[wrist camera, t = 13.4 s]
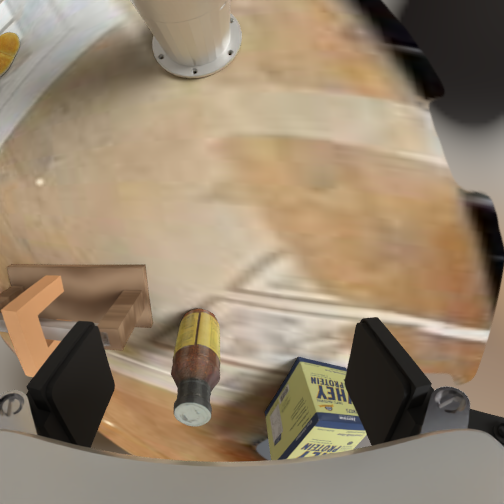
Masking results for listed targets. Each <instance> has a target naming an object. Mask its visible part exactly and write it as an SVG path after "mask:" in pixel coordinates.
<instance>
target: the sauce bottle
mask: <svg viewBox="0 0 504 504" xmlns="http://www.w3.org/2000/svg"><path fill="white" fill-rule="evenodd" d="M219 368H220V328H219V324H218V322H217V319H216V317H215V316H214V314H213V313H211V312H209V311H206V310H203V309H194V310H191V311H189V312H187V313H186V314H185V315H184V317H183V319H182V321H181V323H180V327H179V331H178V336H177V340H176V345H175V350H174V356H173V366H172V371H171V375H172V377H173V379H174V381H175V383H176V385H177V388H178V395H177V400H176V401H175V403H174V415H175V417H176V419H177V420H178V421H180V422H181V423H184V424H186V425H189V426H200V425H203V424H205V423H207V422H208V421H209V420H210V418H211V411H212V408H211V405H210V395H211V391H212V390H213V388H214V387H215V385H216V384H217V383H218V382H219V380H220V369H219Z"/></svg>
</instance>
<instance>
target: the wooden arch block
mask: <svg viewBox="0 0 504 504" xmlns="http://www.w3.org/2000/svg"><path fill="white" fill-rule="evenodd" d="M63 292H64V289H63V284H62V279H61V276H57V275H46V276H44V277H43V278H42V279H40V280H39V281H38V282H36V283H35V284H33V285H32V286H31V287H29V288H28V289H27V290H26V291H24V292H23V293H22V294H20V295H19V296H18V297H16V298H15V299H14V300H13V301H11V302H10V303H9V304H8V305H6V306H5V307H4V308H3V309H1V312H2V315H3V318H4V321H5V324H6V327H7V330H8V333H9V335H10V338H11V341H12V343H13V346H14V349H15V351H16V354H17V356H18V358H19V361H20V363H21V365H22V368H23V370H24V372H25V374H26V376H30V377H34V376H35V374H36V373H37V372H38V370H39V369H40V368H41V366H42V365H43V364H44V362H45V361H46V360H47V359H48V357H49V356H50V355H51V353H52V352H53V351H54V350H55V348H56V347H57V346H58V345H59V343H60V342H61V341H57V340H50V339H45V337H44V334H43V331H42V328H41V325H40V322H39V318H38V315H39V314H40V313H41V312H42V311H43V310H44V309H45V308H46V307H47V306H48V305H49V304H50V303H52V302H53V301H54V300H55V299H56V298H57V297H58V296H59V295H60V294H61V293H63ZM57 320H60V319H57ZM63 321H71V320H63Z"/></svg>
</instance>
